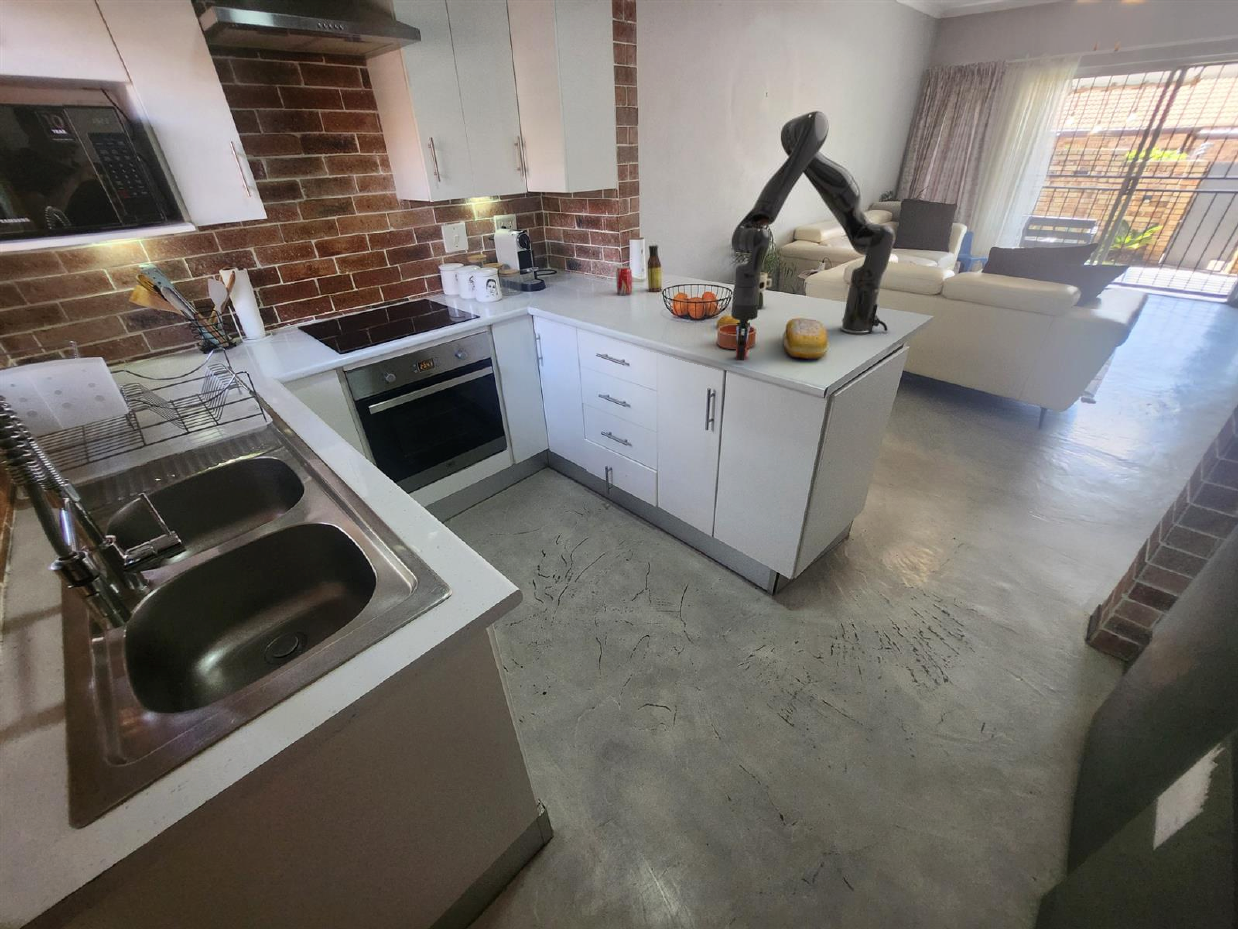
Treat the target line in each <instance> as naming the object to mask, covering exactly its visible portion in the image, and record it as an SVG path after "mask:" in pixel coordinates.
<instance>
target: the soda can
mask: <svg viewBox="0 0 1238 929" xmlns="http://www.w3.org/2000/svg"><path fill="white" fill-rule="evenodd" d="M615 272H616V273H615V275H616V276H615V278H616V292H617V294H618V295H619V296H628V295H631V294H632V293H633V274H632V269H631V266H630V265H617V269H616V271H615Z"/></svg>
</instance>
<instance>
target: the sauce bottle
mask: <svg viewBox="0 0 1238 929" xmlns="http://www.w3.org/2000/svg"><path fill="white" fill-rule="evenodd" d="M658 249H659V245H658V244H650V245H648V250H649V258H648V259H647V284H648V285H647V286H648V291H649V292H653V293H657V292H660V291H662V286H663V284H662V283H663V282H662V264H661V261H660V258H659V253H658V252H659V251H658Z"/></svg>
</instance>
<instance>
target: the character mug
mask: <svg viewBox="0 0 1238 929" xmlns="http://www.w3.org/2000/svg"><path fill="white" fill-rule="evenodd" d="M772 279H773V278H768V273H767V272H761V274H760V284H759V304H758V309H761V308H763V307H764V293H763V292H765V291H766V290H767V288H771V287H772V281H773V280H772ZM767 282H768V284H767Z"/></svg>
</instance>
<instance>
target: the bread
mask: <svg viewBox="0 0 1238 929" xmlns="http://www.w3.org/2000/svg"><path fill="white" fill-rule="evenodd" d="M782 343H783V347H784V349H785V351H786V352H787V354H789V355H790V357H793V358H800V359H805V360H811V359H815V360H816V359H821V358H823V357H824V356H826V354H827V352H828V349H829V347H828V346H829V343H828V335H827V330H826V329H825V326H824V324H823V322H821V321H819V320H816V319H812V318H806V317H796V318H792V319H790V320H789V321H787V323H786V324H785V330H784V332H783V334H782Z"/></svg>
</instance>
